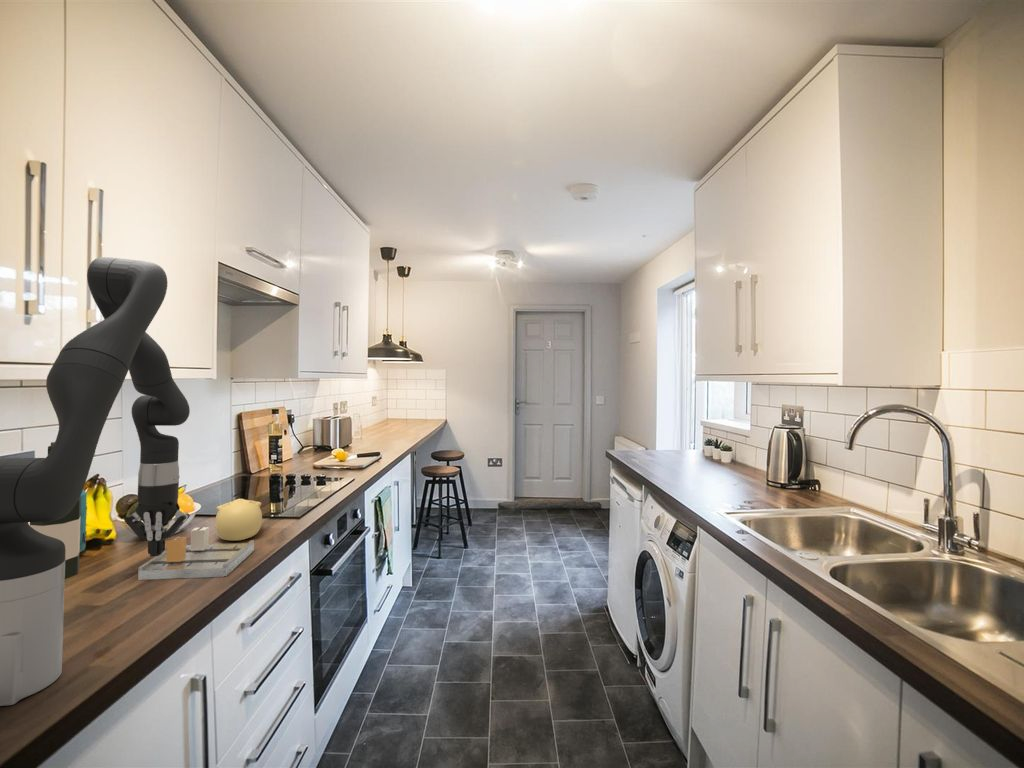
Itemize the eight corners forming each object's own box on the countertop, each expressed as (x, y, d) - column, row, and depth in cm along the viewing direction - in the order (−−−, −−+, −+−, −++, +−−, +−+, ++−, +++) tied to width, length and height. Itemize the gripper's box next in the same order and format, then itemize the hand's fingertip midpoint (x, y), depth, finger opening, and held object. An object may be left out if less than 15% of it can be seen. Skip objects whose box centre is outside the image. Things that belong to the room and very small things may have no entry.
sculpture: (260, 528, 137) (261, 493, 137) (263, 540, 127) (264, 502, 127) (215, 534, 131) (216, 497, 131) (214, 547, 121) (215, 507, 121)
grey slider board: (226, 576, 104) (226, 564, 104) (138, 579, 101) (138, 567, 101) (253, 550, 119) (254, 540, 119) (178, 552, 116) (178, 542, 116)
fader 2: (203, 550, 112) (204, 529, 112) (190, 550, 112) (191, 529, 112) (208, 546, 114) (208, 526, 114) (195, 547, 114) (195, 526, 114)
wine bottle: (16, 585, 96) (20, 445, 96) (44, 569, 104) (48, 439, 104) (64, 582, 98) (69, 444, 98) (88, 566, 106) (92, 439, 106)
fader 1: (180, 561, 105) (181, 539, 105) (166, 562, 105) (166, 539, 104) (185, 557, 107) (186, 536, 107) (171, 558, 107) (172, 536, 107)
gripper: (115, 484, 100) (112, 562, 100) (181, 484, 103) (179, 560, 103) (137, 477, 108) (134, 550, 108) (198, 477, 110) (196, 548, 110)
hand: (156, 555), depth 105 cm, fingers closed
